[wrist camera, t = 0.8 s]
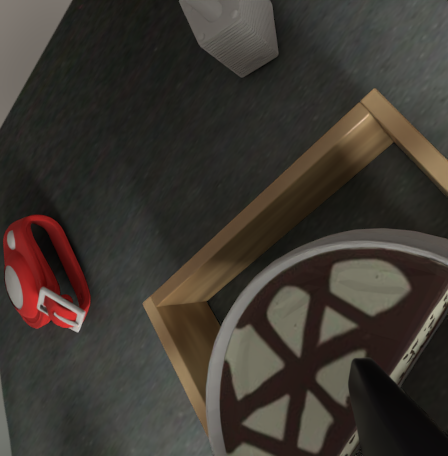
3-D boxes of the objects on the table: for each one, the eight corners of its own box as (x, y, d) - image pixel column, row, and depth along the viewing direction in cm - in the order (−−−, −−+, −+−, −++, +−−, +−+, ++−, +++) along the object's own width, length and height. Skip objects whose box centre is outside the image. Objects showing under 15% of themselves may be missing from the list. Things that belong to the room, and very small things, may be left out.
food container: (365, 199, 23) (289, 159, 14) (483, 257, 19) (474, 247, 11) (263, 382, 25) (146, 439, 17) (353, 460, 22) (264, 578, 13)
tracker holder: (7, 335, 38) (-20, 228, 38) (54, 318, 41) (29, 220, 41) (62, 344, 29) (27, 206, 29) (116, 322, 32) (86, 197, 32)
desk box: (668, 396, 16) (730, 442, 12) (329, 544, 22) (291, 609, 18) (397, 121, 22) (374, 86, 18) (193, 298, 28) (141, 303, 24)
